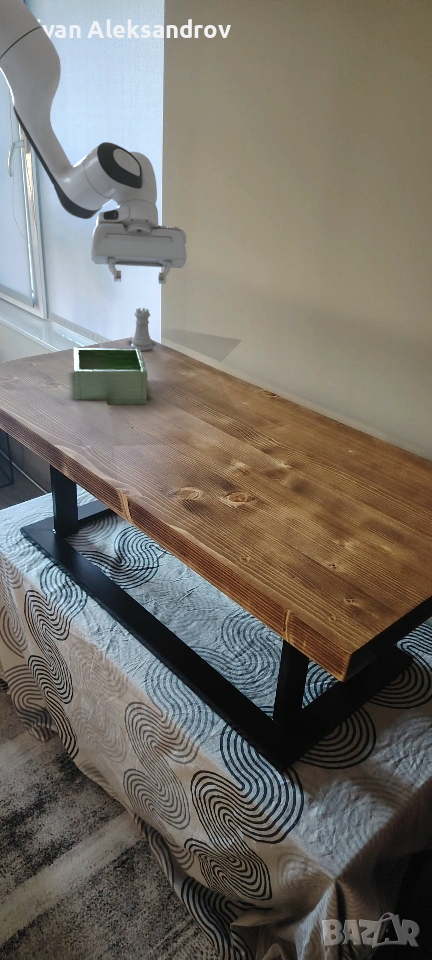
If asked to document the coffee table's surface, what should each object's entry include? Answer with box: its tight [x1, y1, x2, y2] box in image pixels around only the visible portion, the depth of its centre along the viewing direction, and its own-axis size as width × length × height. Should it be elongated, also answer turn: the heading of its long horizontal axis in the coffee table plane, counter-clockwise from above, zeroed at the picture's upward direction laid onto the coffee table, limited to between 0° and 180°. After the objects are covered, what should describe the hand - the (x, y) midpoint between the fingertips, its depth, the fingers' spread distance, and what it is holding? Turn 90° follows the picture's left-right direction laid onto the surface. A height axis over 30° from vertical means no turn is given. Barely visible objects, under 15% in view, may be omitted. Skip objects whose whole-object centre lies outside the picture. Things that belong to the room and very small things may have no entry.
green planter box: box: [73, 347, 148, 406], centre depth 107 cm, size 12×12×6 cm
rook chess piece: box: [130, 307, 153, 352], centre depth 128 cm, size 4×4×8 cm
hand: (140, 281), depth 132 cm, fingers open, 8 cm apart
